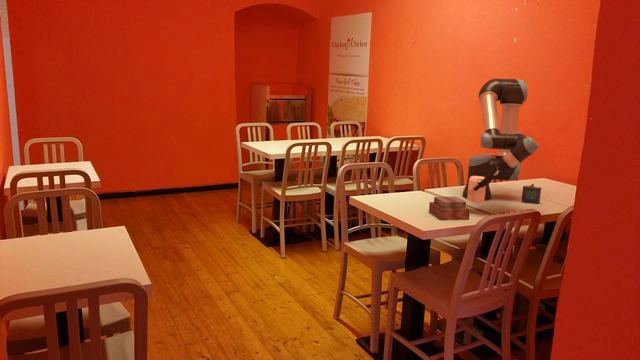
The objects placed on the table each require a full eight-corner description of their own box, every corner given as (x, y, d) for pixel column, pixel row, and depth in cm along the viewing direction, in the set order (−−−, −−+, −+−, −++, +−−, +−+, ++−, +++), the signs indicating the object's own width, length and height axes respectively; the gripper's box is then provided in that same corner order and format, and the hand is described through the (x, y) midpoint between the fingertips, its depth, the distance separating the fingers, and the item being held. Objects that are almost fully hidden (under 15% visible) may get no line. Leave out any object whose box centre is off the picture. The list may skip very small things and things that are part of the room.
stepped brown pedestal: (455, 211, 256) (457, 195, 255) (469, 219, 243) (470, 202, 241) (428, 212, 254) (430, 196, 252) (441, 220, 240) (442, 203, 238)
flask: (539, 203, 280) (541, 183, 278) (539, 204, 277) (542, 184, 275) (520, 201, 282) (523, 182, 280) (521, 202, 280) (523, 183, 277)
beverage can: (464, 199, 260) (466, 175, 258) (480, 199, 261) (482, 175, 258) (470, 203, 252) (472, 179, 250) (486, 203, 253) (489, 179, 251)
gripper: (513, 172, 238) (473, 202, 247) (512, 164, 258) (475, 192, 266) (502, 160, 239) (462, 190, 247) (502, 153, 258) (465, 181, 267)
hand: (469, 191), depth 257 cm, fingers closed on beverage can, 8 cm apart
